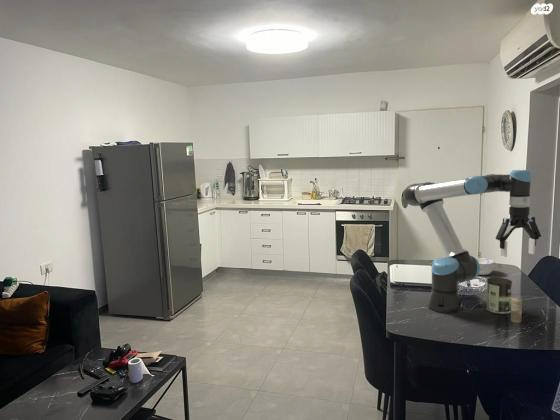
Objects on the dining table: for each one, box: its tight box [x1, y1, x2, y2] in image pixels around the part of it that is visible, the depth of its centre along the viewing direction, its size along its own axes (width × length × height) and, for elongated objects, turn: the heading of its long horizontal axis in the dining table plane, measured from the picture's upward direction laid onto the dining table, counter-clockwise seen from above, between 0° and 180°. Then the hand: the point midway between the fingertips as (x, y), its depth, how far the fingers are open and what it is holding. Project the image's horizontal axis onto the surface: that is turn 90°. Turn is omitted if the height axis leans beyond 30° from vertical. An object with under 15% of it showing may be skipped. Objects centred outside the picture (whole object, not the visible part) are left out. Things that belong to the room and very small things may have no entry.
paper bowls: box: [475, 257, 496, 276], centre depth 251 cm, size 15×15×8 cm
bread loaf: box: [510, 296, 523, 324], centre depth 178 cm, size 4×4×10 cm
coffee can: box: [486, 277, 513, 315], centre depth 191 cm, size 10×10×14 cm
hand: (517, 254), depth 178 cm, fingers open, 13 cm apart
